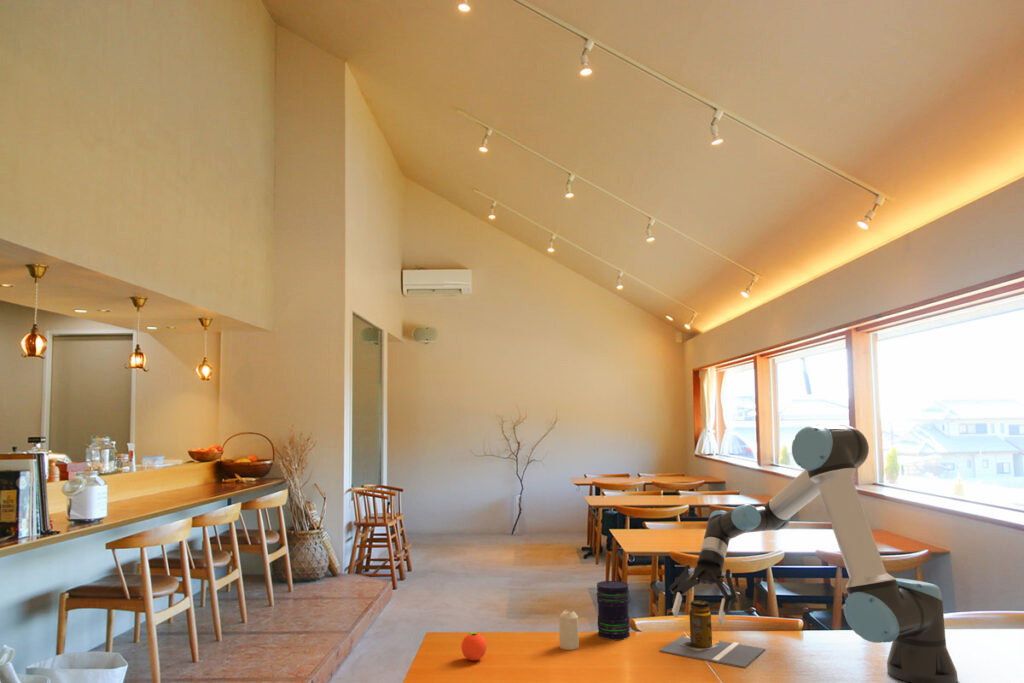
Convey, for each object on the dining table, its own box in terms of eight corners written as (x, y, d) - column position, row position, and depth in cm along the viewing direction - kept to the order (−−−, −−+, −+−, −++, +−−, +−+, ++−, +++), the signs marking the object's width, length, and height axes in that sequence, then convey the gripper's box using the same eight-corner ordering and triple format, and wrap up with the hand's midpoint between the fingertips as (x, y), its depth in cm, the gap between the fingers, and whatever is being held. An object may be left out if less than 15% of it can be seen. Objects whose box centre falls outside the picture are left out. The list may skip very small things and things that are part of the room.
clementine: (457, 656, 187) (457, 629, 188) (480, 653, 189) (480, 627, 190) (465, 665, 179) (465, 637, 180) (490, 662, 182) (490, 634, 183)
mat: (765, 650, 190) (765, 647, 190) (745, 668, 176) (745, 665, 176) (684, 635, 204) (683, 633, 204) (659, 651, 190) (659, 648, 190)
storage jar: (636, 637, 203) (634, 586, 205) (608, 641, 199) (606, 589, 201) (619, 628, 212) (618, 579, 214) (591, 632, 208) (590, 582, 211)
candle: (556, 645, 196) (555, 609, 197) (572, 643, 198) (571, 607, 199) (565, 651, 191) (564, 614, 192) (582, 648, 193) (581, 612, 194)
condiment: (719, 646, 192) (716, 602, 194) (699, 651, 188) (697, 607, 189) (699, 640, 198) (697, 597, 200) (679, 645, 194) (677, 601, 195)
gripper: (756, 567, 202) (744, 632, 188) (677, 559, 217) (660, 619, 203) (750, 552, 199) (736, 616, 185) (670, 545, 213) (652, 604, 199)
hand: (696, 618), depth 194 cm, fingers open, 13 cm apart
